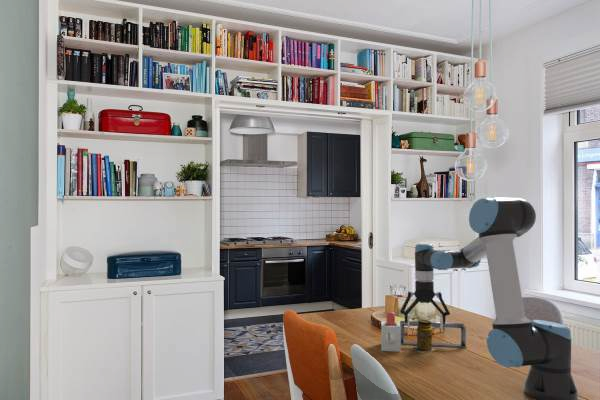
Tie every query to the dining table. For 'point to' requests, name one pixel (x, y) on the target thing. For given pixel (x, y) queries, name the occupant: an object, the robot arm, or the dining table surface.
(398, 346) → the cabinet
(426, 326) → the condiment
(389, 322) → the plunger
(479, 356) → the dining table surface
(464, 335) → the handrail
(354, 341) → the dining table surface
